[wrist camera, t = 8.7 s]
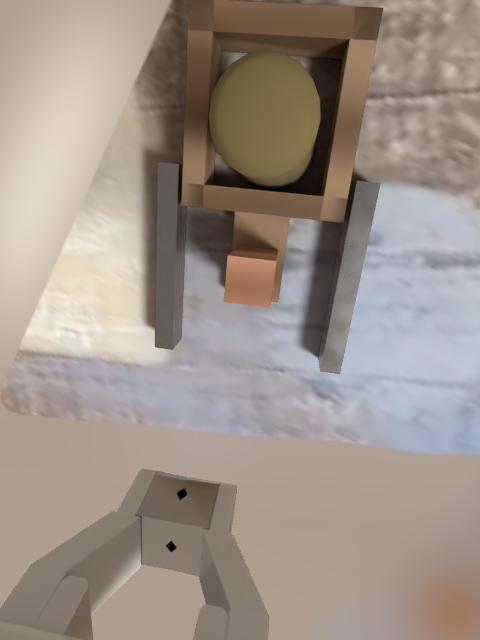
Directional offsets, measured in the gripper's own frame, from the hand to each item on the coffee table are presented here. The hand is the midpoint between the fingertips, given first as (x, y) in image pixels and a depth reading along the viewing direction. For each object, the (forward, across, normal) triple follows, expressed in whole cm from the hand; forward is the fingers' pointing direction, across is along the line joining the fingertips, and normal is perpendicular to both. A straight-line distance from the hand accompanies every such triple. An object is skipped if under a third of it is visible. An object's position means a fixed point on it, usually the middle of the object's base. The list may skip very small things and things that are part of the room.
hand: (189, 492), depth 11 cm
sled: (+20, 0, -10) cm, 22 cm away
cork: (+20, 0, -12) cm, 23 cm away
